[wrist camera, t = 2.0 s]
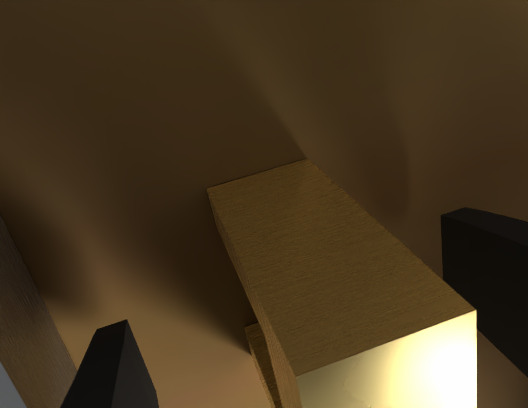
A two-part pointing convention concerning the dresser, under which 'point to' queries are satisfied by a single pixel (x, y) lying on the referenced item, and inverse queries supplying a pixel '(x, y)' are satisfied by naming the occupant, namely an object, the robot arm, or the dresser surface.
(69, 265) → the dresser surface
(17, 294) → the rail
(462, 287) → the robot arm
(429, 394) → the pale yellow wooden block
